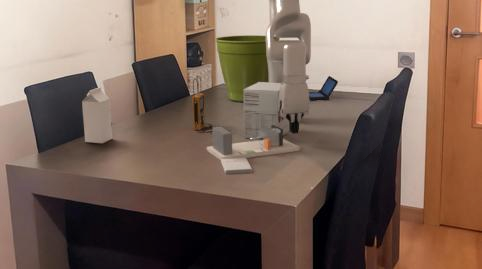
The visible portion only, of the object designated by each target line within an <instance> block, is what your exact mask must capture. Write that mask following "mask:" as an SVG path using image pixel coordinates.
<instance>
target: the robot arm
mask: <svg viewBox="0 0 482 269" xmlns="http://www.w3.org/2000/svg"><path fill="white" fill-rule="evenodd" d="M268 2H269V3H268V4H269V24H268V25H267V28H266V32H265V36H266V56H267V63H268V75H269V83H283V84H281V86H280V91H279V100H278V110H279V111H280V115H279V116H280V117H283V118H286V119H287V120H288V121H289V130H290V131H289V132H290V134H293V135H295V134H299V130H300V122H301V121H302V119H303V117H305V116H308V115H309V114H310V112H309V111H310V100H309V92H310V91H309V86H308V83H307V80H309V78H310V76H309V75H307V73H306V72H307V71H306V67H307V65H308V64H309V63H310V61H311V55H312V26H311V25H312V24H311V19H310V17H309V15H308V14H307V13H304V12H301V8H300V7H301V4H300V0H268ZM274 37H276V38H280V39H281V40H280V39H279V40H276V41H275V40H274ZM286 38H287V39H286ZM293 38H295V39H294V40H293ZM284 39H285V40H284Z"/></svg>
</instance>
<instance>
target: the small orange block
mask: <svg viewBox="0 0 482 269" xmlns="http://www.w3.org/2000/svg"><path fill="white" fill-rule="evenodd" d="M264 148H266V149H271V140H269V139H267V138H266V139H264Z"/></svg>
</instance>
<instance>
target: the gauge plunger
mask: <svg viewBox="0 0 482 269" xmlns="http://www.w3.org/2000/svg"><path fill="white" fill-rule="evenodd" d="M266 138H267V139H269V140H271V148H272V147H273V146H279V145H280V146H282V145H283V139H284V135H283V129H281V128H279V127H277V126H275V125H271V129H264V130H259V137H256V138H248V139H249V142H253V141H259V143H260V144H262V145H263V146H264V139H266Z"/></svg>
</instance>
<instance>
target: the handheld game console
mask: <svg viewBox="0 0 482 269" xmlns="http://www.w3.org/2000/svg"><path fill="white" fill-rule="evenodd" d="M338 81H339V80H337V79H335V78H334V77H332V76H330V75H329V76H328V77H327V78H326V80H325V81H324V83H323V85H322V87H321V88H320V90H318V91H309V102H317V100H323V101H330V97H331V95H332V94H333V92H334V90H335V89H336V87H337V85H338V83H339V82H338Z"/></svg>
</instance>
